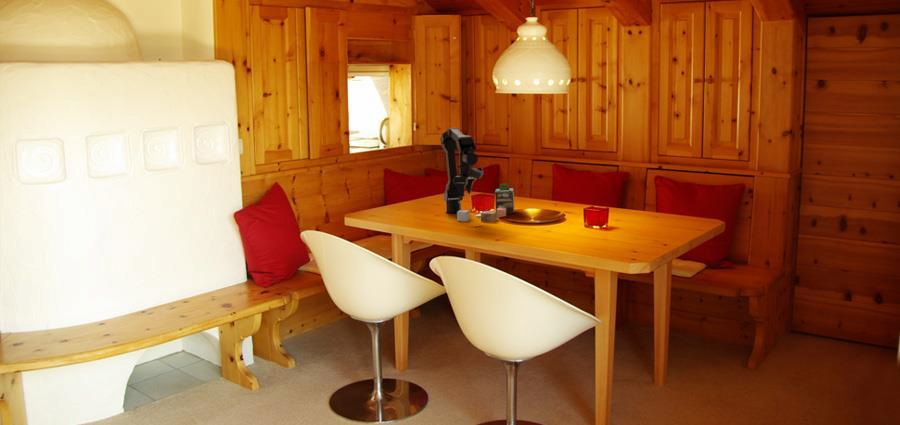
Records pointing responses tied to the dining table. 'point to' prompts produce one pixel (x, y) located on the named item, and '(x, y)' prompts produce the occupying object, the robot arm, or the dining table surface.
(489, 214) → the walnut block
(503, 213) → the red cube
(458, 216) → the blue cube
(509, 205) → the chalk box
